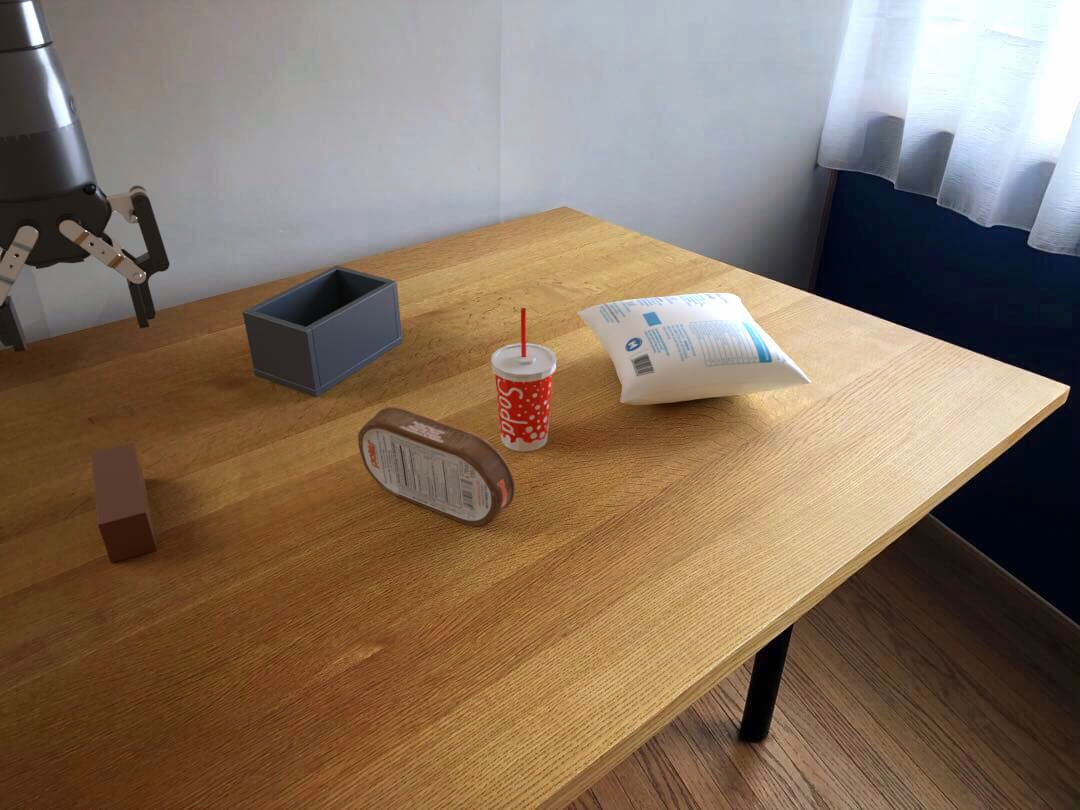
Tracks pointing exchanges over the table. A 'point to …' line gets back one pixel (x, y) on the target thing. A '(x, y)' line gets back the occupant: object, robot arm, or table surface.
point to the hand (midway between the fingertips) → (83, 335)
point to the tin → (436, 466)
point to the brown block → (122, 503)
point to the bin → (323, 329)
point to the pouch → (689, 348)
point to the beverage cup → (523, 392)
